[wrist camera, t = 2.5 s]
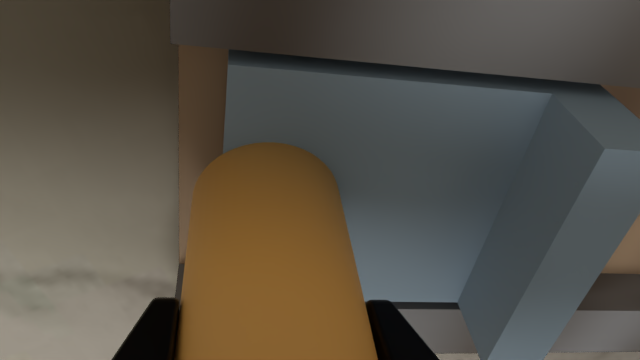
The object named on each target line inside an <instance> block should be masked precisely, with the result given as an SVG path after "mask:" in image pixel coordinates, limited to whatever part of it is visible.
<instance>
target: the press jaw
mask: <svg viewBox="0 0 640 360" xmlns="http://www.w3.org/2000/svg"><path fill="white" fill-rule="evenodd" d="M639 214H640V119H639V118H638V117H636V116H635V115H634V114H633V113H632V112H631V111H630V110H628V109H627V108H626V107H625V106H624V105H623V104H622V103H620V102H619V101H618V100H617V99H616V98H615V97H614V96H612V95H611V94H610V93H609V92H608V91H607V90H606V89H604V88H603V87H602V86H601V85H600V84H590V83H579V82H569V81H558V80H548V79H537V78H527V77H516V76H506V75H495V74H485V73H474V72H463V71H453V70H442V69H432V68H421V67H411V66H400V65H390V64H379V63H368V62H358V61H347V60H337V59H326V58H316V57H305V56H295V55H284V54H273V53H263V52H252V51H242V50H231V49H229V52H228V70H227V88H226V106H225V124H224V143H223V154H222V155H221V156H219V157H217V158H216V159H215V160H214V161H212V162H211V163H210V164H209V165H208V166H207V167H206V168H205V169H204V170H203V172H202V173H201V175H200V176H199V178H198V180H197V182H196V184H195V187H194V190H193V196H192V205H191V213H190V222H189V231H188V240H187V249H186V258H185V266H184V275H183V284H182V293H181V302H180V311H179V319H178V328H177V337H176V346H175V355H174V360H378V357H377V353H376V348H375V344H374V340H373V335H372V331H371V327H370V323H369V318H368V314H367V310H366V305H365V302H367V301H368V300H389V301H391V302H457V303H458V305H459V308H460V310H461V313H462V315H463V318H464V320H465V323H466V325H467V327H468V330H469V332H470V335H471V337H472V340H473V342H474V345H475V347H476V350H477V352H478V355H479V357H480V359H481V360H543V359H544V358H545V356H546V355H547V353H548V352H549V350H550V349H551V347H552V346H553V344H554V343H555V341H556V340H557V338H558V337H559V335H560V334H561V332H562V331H563V329H564V328H565V326H566V325H567V323H568V322H569V320H570V319H571V317H572V315H573V314H574V312H575V311H576V309H577V308H578V306H579V305H580V303H581V302H582V300H583V299H584V297H585V296H586V294H587V293H588V291H589V290H590V288H591V287H592V285H593V284H594V282H595V281H596V279H597V278H598V276H599V275H600V273H601V272H602V270H603V268H604V267H605V265H606V264H607V262H608V261H609V259H610V258H611V256H612V255H613V253H614V252H615V250H616V249H617V247H618V246H619V244H620V243H621V241H622V240H623V238H624V237H625V235H626V234H627V232H628V231H629V229H630V228H631V226H632V224H633V223H634V221H635V220H636V218H637V217H638V215H639Z"/></svg>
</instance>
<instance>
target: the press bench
mask: <svg viewBox="0 0 640 360" xmlns="http://www.w3.org/2000/svg"><path fill="white" fill-rule="evenodd" d="M170 44H178V64H179V269H178V278H177V286H176V294H175V298H177V299H178V300H179V311H180V302H181V293H182V284H183V275H184V266H185V258H186V249H187V240H188V231H189V222H190V213H191V205H192V196H193V190H194V187H195V184H196V182H197V180H198V178H199V176H200V175H201V173H202V172H203V170H204V169H205V168H206V167H207V166H208V165H209V164H210V163H211V162H212V161H214V160H215V159H216V158H217V157H219V156H221V155H222V154H223V143H224V124H225V106H226V88H227V70H228V52H229V49H231V50H242V51H252V52H263V53H273V54H284V55H295V56H305V57H316V58H326V59H337V60H347V61H358V62H368V63H379V64H390V65H400V66H411V67H421V68H432V69H442V70H453V71H463V72H474V73H485V74H495V75H506V76H516V77H527V78H537V79H548V80H558V81H569V82H579V83H590V84H600V85H601V86H602V87H603V88H604V89H606V90H607V91H608V92H609V93H610V94H611V95H612V96H614V97H615V98H616V99H617V100H618V101H619V102H620V103H622V104H623V105H624V106H625V107H626V108H627V109H628V110H630V111H631V112H632V113H633V114H634V115H635V116H636V117H638V118H639V119H640V0H170ZM392 303H393V304H394V305H395V307H396V308H397V309H398V310H399V311H400V313H401V314H402V315H403V316H404V318H405V319H406V320H407V321H408V322H409V324H410V325H411V326H412V327H413V328H414V330H415V331H416V332H417V333H418V334H419V336H420V337H421V338H422V339H423V340H424V342H425V343H426V344H427V345H428V347H429V348H430V349H431V350H432V351H433V353H478V352H477V350H476V347H475V345H474V342H473V340H472V337H471V335H470V332H469V330H468V327H467V325H466V323H465V320H464V318H463V315H462V313H461V310H460V308H459V305H458V303H457V302H392ZM365 304H366V302H365ZM549 352H640V214H639V215H638V217H637V218H636V220H635V221H634V223H633V224H632V226H631V228H630V229H629V231H628V232H627V234H626V235H625V237H624V238H623V240H622V241H621V243H620V244H619V246H618V247H617V249H616V250H615V252H614V253H613V255H612V256H611V258H610V259H609V261H608V262H607V264H606V265H605V267H604V268H603V270H602V272H601V273H600V275H599V276H598V278H597V279H596V281H595V282H594V284H593V285H592V287H591V288H590V290H589V291H588V293H587V294H586V296H585V297H584V299H583V300H582V302H581V303H580V305H579V306H578V308H577V309H576V311H575V312H574V314H573V315H572V317H571V319H570V320H569V322H568V323H567V325H566V326H565V328H564V329H563V331H562V332H561V334H560V335H559V337H558V338H557V340H556V341H555V343H554V344H553V346H552V347H551V349H550V350H549Z"/></svg>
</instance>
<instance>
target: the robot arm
mask: <svg viewBox="0 0 640 360" xmlns="http://www.w3.org/2000/svg"><path fill="white" fill-rule="evenodd" d="M365 305H366V310H367V314H368V318H369V323H370V327H371V331H372V335H373V340H374V344H375V348H376V353H377V357H378V360H439V359H438V357H437V356H436V355H435V354H434V353H433V351H432V350H431V349H430V348H429V347H428V345H427V344H426V343H425V342H424V340H423V339H422V338H421V337H420V336H419V334H418V333H417V332H416V331H415V330H414V328H413V327H412V326H411V325H410V324H409V322H408V321H407V320H406V319H405V318H404V316H403V315H402V314H401V313H400V311H399V310H398V309H397V308H396V307H395V305H394V304H393V303H392V302H391V301H389V300H368V301H367V302H366V304H365ZM178 319H179V300H178V299H177V298H167V297H158V298H155V299H153V300H152V301H151V303H150V304H149V305H148V307H147V308H146V310H145V311H144V313H143V314H142V316H141V317H140V319H139V320H138V322H137V323H136V324H135V326H134V327H133V329H132V330H131V332H130V333H129V335H128V336H127V338H126V339H125V341H124V342H123V344H122V345H121V347H120V348H119V349H118V351H117V352H116V354H115V355H114V357H113V358H112V360H174V355H175V346H176V337H177V328H178Z"/></svg>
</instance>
